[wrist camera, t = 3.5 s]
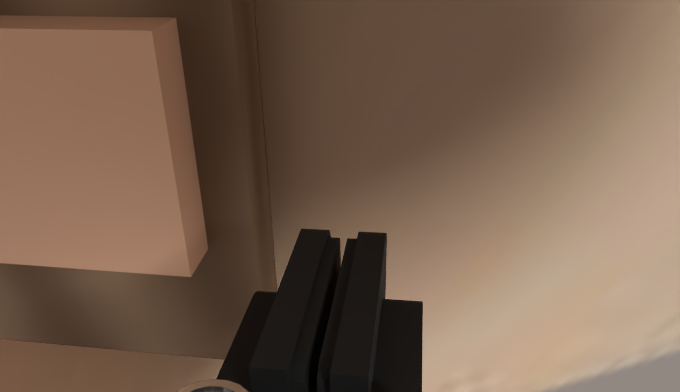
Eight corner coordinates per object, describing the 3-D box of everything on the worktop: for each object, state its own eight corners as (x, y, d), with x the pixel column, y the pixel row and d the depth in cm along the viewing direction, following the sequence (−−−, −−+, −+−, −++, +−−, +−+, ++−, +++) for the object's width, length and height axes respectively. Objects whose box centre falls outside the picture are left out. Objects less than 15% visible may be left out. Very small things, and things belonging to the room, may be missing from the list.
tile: (176, 17, 15) (151, 30, 14) (208, 249, 19) (190, 276, 17) (-70, 14, 16) (-115, 26, 15) (1, 235, 20) (-30, 260, 18)
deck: (239, -185, 15) (212, -193, 13) (279, 325, 22) (266, 363, 21) (-249, -169, 17) (-329, -174, 15) (-62, 296, 24) (-101, 329, 23)
